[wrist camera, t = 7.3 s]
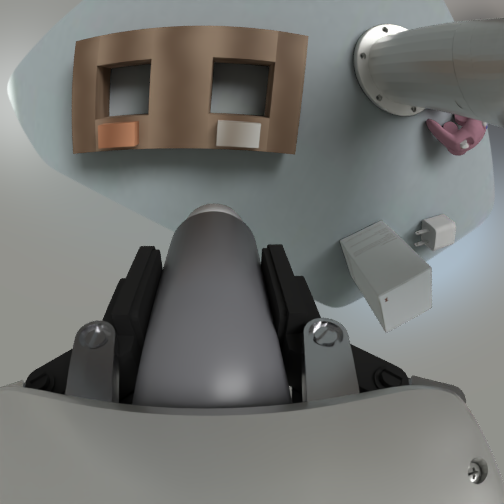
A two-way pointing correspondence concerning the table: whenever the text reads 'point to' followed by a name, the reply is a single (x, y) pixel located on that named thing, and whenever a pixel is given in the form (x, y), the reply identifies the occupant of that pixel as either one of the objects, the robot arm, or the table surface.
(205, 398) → the charcoal plug
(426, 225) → the usb wall charger
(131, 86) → the table surface
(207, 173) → the table surface
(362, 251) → the supplement box
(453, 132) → the video game controller
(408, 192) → the table surface
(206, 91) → the socket block
